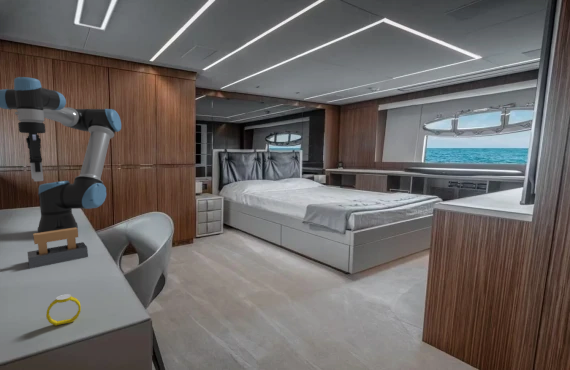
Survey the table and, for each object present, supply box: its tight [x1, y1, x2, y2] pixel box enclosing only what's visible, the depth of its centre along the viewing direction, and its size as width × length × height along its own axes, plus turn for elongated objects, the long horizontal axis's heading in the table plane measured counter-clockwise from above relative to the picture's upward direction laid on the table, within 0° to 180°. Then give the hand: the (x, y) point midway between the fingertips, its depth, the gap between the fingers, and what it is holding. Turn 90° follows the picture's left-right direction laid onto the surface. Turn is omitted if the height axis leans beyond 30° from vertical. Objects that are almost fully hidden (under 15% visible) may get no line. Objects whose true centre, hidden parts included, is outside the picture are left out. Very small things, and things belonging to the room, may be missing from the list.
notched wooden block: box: [32, 227, 79, 255], centre depth 105 cm, size 12×3×10 cm, turn 132°
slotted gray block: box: [27, 241, 89, 269], centre depth 106 cm, size 16×8×4 cm, turn 132°
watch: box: [45, 293, 82, 326], centre depth 66 cm, size 6×3×6 cm, turn 122°
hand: (37, 179), depth 114 cm, fingers open, 13 cm apart
